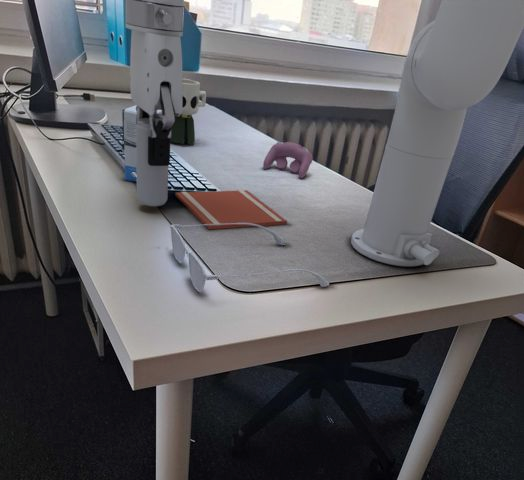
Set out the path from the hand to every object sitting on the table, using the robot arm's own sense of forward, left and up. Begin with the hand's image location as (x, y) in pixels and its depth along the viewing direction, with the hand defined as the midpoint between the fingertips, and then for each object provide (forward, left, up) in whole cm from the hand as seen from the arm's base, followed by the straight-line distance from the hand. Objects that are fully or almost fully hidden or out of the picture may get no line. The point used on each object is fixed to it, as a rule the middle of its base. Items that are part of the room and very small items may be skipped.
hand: (152, 158), depth 78 cm
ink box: (+16, -4, -8) cm, 18 cm away
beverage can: (0, 0, -7) cm, 7 cm away
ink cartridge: (+32, -6, -8) cm, 34 cm away
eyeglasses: (-23, -6, -8) cm, 25 cm away
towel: (-2, -13, -8) cm, 15 cm away
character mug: (+40, -20, -8) cm, 45 cm away
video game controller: (+18, -36, -8) cm, 41 cm away
